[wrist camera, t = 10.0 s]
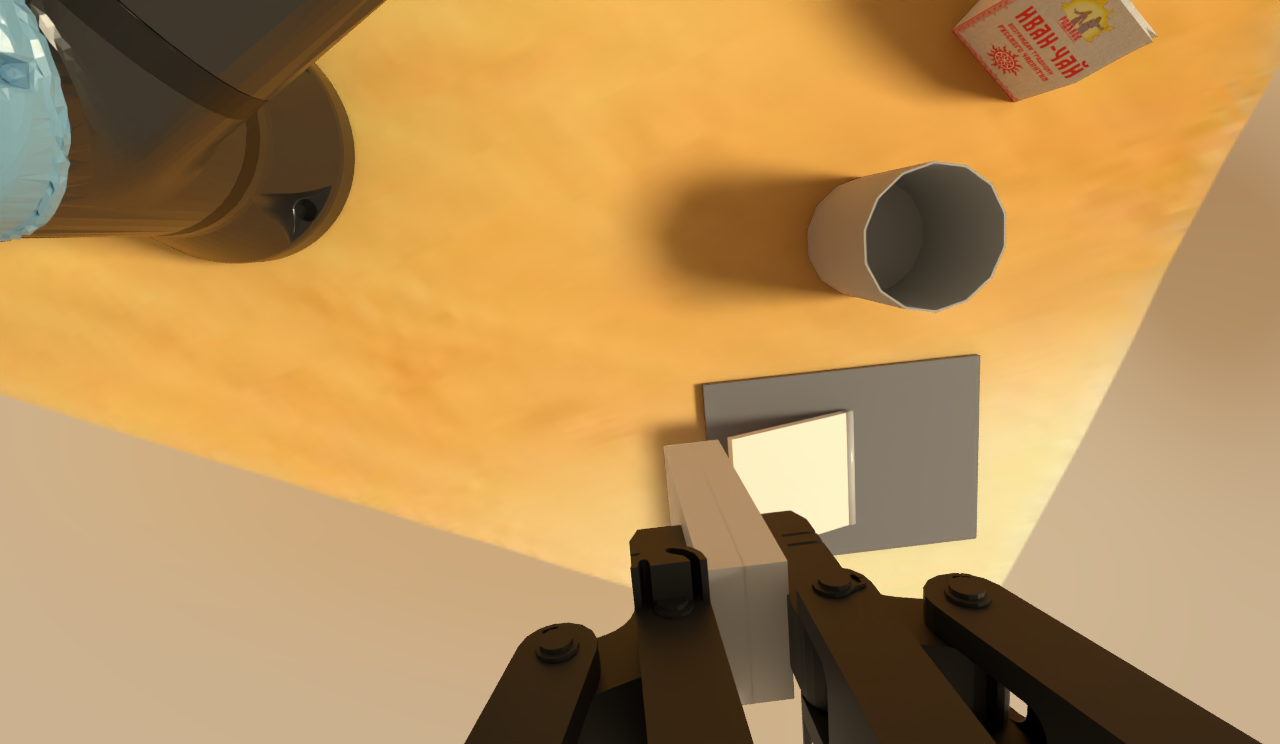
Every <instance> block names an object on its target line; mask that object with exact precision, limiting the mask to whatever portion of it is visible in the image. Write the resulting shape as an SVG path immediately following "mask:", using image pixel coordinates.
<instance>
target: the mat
mask: <svg viewBox="0 0 1280 744" xmlns="http://www.w3.org/2000/svg"><path fill="white" fill-rule="evenodd" d="M702 388H703V401H704V414H705V427H706V440H707V441H709V440H719V442H720V444H721V446H722V447H723V449H724V451H725V453H726V454H727V456H728V458H729V453H728V438H727V437H732V436H736V435H740V434H745V433H749V432H753V431H757V430H762V429H766V428H770V427H775V426H779V425H783V424H788V423H792V422H796V421H800V420H805V419H809V418H813V417H818V416H822V415H826V414H831V413H835V412H839V411H841V410H845V409H849V410H853V418H854V461H855V503H856V524H854V525H847V526H844V527H841V528H837V529H834V530H831V531H828V532H825V533H821V534H818V535H819V537H820V538H821V539H822V543H823V542H824V544H825V545H826V546H827V548H828V549H829V550H830V552H831V553H832V555H841V554H849V553H858V552H866V551H875V550H883V549H891V548H900V547H908V546H916V545H925V544H933V543H941V542H950V541H958V540H966V539H975V538H976V531H977V484H978V437H979V390H980V355H977V354H974V355H965V356H956V357H946V358H937V359H928V360H919V361H909V362H900V363H891V364H882V365H873V366H863V367H854V368H845V369H836V370H826V371H817V372H808V373H799V374H789V375H780V376H771V377H762V378H752V379H743V380H734V381H725V382H715V383H706V384H702Z"/></svg>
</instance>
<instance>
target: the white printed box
mask: <svg viewBox="0 0 1280 744" xmlns="http://www.w3.org/2000/svg"><path fill="white" fill-rule="evenodd" d="M952 31H953V32H954V33H955V34H956V35H957V37H958V38H959V39H960V40H961V41H962V42H963V44H964V45H965V46H966V47H967V48H968V49H969V51H970V52H971V53H972V54H973V55H974V56H975V58H976V59H977V60H978V61H979V62H980V63H981V65H982V66H983V67H984V68H985V69H986V70H987V72H988V73H989V74H990V75H991V76H992V77H993V79H994V80H995V81H996V82H997V83H998V84H999V86H1000V87H1001V88H1002V89H1003V90H1004V91H1005V93H1006V94H1007V95H1008V96H1009V97H1010V98H1011V100H1012V101H1013V102H1017V101H1020V100H1023V99H1026V98H1029V97H1033V96H1036V95H1039V94H1042V93H1045V92H1048V91H1051V90H1054V89H1058V88H1061V87H1064V86H1067V85H1070V84H1073V83H1076V82H1078V81H1080V80H1081V79H1083V78H1085V77H1087V76H1089V75H1090V74H1092V73H1094V72H1096V71H1098V70H1099V69H1101V68H1103V67H1105V66H1107V65H1108V64H1110V63H1112V62H1114V61H1116V60H1117V59H1119V58H1121V57H1123V56H1125V55H1127V54H1129V53H1131V52H1133V51H1135V50H1137V49H1139V48H1141V47H1143V46H1145V45H1147V44H1149V43H1152V42H1153V41H1152V39H1151V38H1154V37H1158V36H1157V35H1156V33H1155V32H1154V31H1153V30H1152V28H1151V27H1150V26H1149V24H1148V23H1147V22H1146V21H1145V19H1144V18H1143V17H1142V15H1141V14H1140V13H1139V12H1138V10H1137V9H1136V8H1135V7H1134V5H1133V4H1132V3H1131V1H1130V0H979V1H978V2H977V3H976V4H975V5H974V6H973V7H972V8H971V10H970V11H969V12H968V13H967V14H966V15H965V16H964V17H963V18H962V19H961V20H960V21H959V23H958V24H957V25H956V26H955V27H954V28H953V29H952Z"/></svg>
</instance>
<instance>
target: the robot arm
mask: <svg viewBox="0 0 1280 744" xmlns="http://www.w3.org/2000/svg"><path fill="white" fill-rule="evenodd" d="M385 1H386V0H0V242H4V241H11V240H12V239H20V238H59V237H112V236H149V237H151V238H153V239H155V240H157V241H159V242H161V243H164V244H166V245H168V246H170V247H172V248H174V249H176V250H178V251H181V252H183V253H185V254H188V255H191V256H194V257H197V258H201V259H205V260H210V261H216V262H222V263H252V262H264V261H271V260H276V259H280V258H283V257H287V256H289V255H292V254H294V253H297V252H299V251H301V250H303V249H304V248H306V247H308V246H309V245H311V244H312V243H314V242H315V241H316V240H317V239H319V238H320V237H321V236H322V235H323V234H324V233H325V232H326V231H327V230H328V229H329V228H330V227H331V225H332V224H333V223H334V222H335V220H336V219H337V217H338V216H339V214H340V212H341V211H342V209H343V207H344V205H345V203H346V200H347V198H348V195H349V192H350V189H351V185H352V180H353V174H354V164H355V151H354V141H353V135H352V130H351V126H350V122H349V119H348V116H347V113H346V111H345V108H344V106H343V104H342V101H341V99H340V97H339V96H338V94H337V92H336V90H335V89H334V87H333V85H332V84H331V82H330V81H329V80H328V78H327V77H326V75H325V74H324V73H323V72H322V71H321V69H320V68H319V67H318V66H317V65H316V64H315V63H314V62H315V61H316V60H318V59H319V58H320V57H321V56H322V55H323V54H325V53H326V52H327V51H328V50H329V49H330V48H332V47H333V46H334V45H335V44H336V43H337V42H339V41H340V40H341V39H342V38H343V37H344V36H345V35H347V34H348V33H349V32H350V31H351V30H352V29H354V28H355V27H356V26H357V25H358V24H359V23H361V22H362V21H363V20H364V19H365V18H366V17H368V16H369V15H370V14H371V13H372V12H373V11H375V10H376V9H377V8H378V7H379V6H380V5H382V4H383V3H384V2H385ZM663 447H664V457H665V468H666V479H667V490H668V501H669V511H670V522H671V526H666V527H658V528H649V529H641V530H637V531H636V533H635V534H634V536H633V537H632V539H631V540H630V542H629V544H630V555H631V568H630V569H631V578H632V587H633V595H634V605H635V611H634V613H633V615H632V617H631V619H629V621H628V622H627V623H626V624H625V625H623V626H622V627H620V628H619V629H617V630H616V631H614V632H611V633H609V634H607V635H604V636H602V637H599V638H596V636H595V634H594V633H593V631H592V630H590V629H588V628H587V627H585V626H583V625H580V624H573V623H561V624H553V625H550V626H546V627H544V628H541V629H539V630H537V631H535V632H534V633H532V634H530V635H529V636H527V637H526V638H525V639H524V641H523V642H522V643H521V644H520V645H519V646H518V648H517V650H516V652H515V654H514V655H513V657H512V659H511V661H510V663H509V664H508V666H507V668H506V670H505V672H504V673H503V676H502V677H501V679H500V681H499V682H498V684H497V686H496V688H495V690H494V692H493V693H492V695H491V697H490V699H489V700H488V702H487V704H486V706H485V708H484V709H483V711H482V713H481V715H480V717H479V718H478V720H477V722H476V724H475V726H474V728H473V729H472V731H471V733H470V735H469V736H468V738H467V740H466V742H465V743H464V744H753V740H752V737H751V734H750V730H749V727H748V724H747V721H746V717H745V714H744V711H743V707H742V705H747V704H754V703H762V702H770V701H778V700H785V699H793V698H794V682H793V673H794V676H795V678H796V680H797V682H798V684H799V687H800V689H801V700H802V701H801V702H802V721H803V722H802V723H803V743H804V744H812V742H813V744H1262V743H1260V742H1258V741H1257V740H1255V739H1253V738H1252V737H1250V736H1249V735H1247V734H1245V733H1244V732H1242V731H1240V730H1239V729H1237V728H1235V727H1233V726H1232V725H1230V724H1229V723H1227V722H1225V721H1224V720H1222V719H1220V718H1219V717H1217V716H1215V715H1214V714H1212V713H1210V712H1208V711H1207V710H1205V709H1204V708H1202V707H1200V706H1199V705H1197V704H1195V703H1194V702H1192V701H1190V700H1189V699H1187V698H1185V697H1184V696H1182V695H1180V694H1179V693H1177V692H1175V691H1174V690H1172V689H1171V688H1169V687H1167V686H1165V685H1164V684H1162V683H1161V682H1159V681H1157V680H1156V679H1154V678H1152V677H1151V676H1149V675H1147V674H1146V673H1144V672H1142V671H1141V670H1139V669H1137V668H1136V667H1134V666H1132V665H1131V664H1129V663H1127V662H1126V661H1124V660H1122V659H1121V658H1119V657H1117V656H1116V655H1114V654H1112V653H1111V652H1109V651H1107V650H1106V649H1104V648H1102V647H1101V646H1099V645H1097V644H1096V643H1094V642H1093V641H1091V640H1089V639H1088V638H1086V637H1084V636H1083V635H1081V634H1079V633H1078V632H1076V631H1074V630H1073V629H1071V628H1069V627H1068V626H1066V625H1064V624H1063V623H1061V622H1059V621H1058V620H1056V619H1054V618H1053V617H1051V616H1049V615H1048V614H1046V613H1044V612H1043V611H1041V610H1039V609H1037V608H1036V607H1034V606H1033V605H1031V604H1029V603H1028V602H1026V601H1024V600H1023V599H1021V598H1019V597H1018V596H1016V595H1015V594H1013V593H1011V592H1009V591H1008V590H1006V589H1005V588H1003V587H1001V586H1000V585H998V584H995V583H993V582H991V581H989V580H987V579H984V578H980V577H976V576H972V575H970V574H963V573H961V574H959V573H951V574H945V575H938V576H936V577H934V578H932V579H930V580H928V581H927V582H926V584H925V586H924V587H923V599H916V598H903V597H893V596H885V595H881V594H880V592H879V591H878V590H877V589H876V587H875V586H874V585H873V583H872V582H871V581H870V580H868V579H867V578H866V577H865V576H864V575H862V574H860V573H857V572H855V571H853V570H850V569H845V568H842V567H841V566H840V564H839V563H838V562H837V560H836V559H835V557H834V556H833V555H832V553H831V552H830V550H829V549H828V548H827V546H826V545H825V544H824V542H823V543H822V539H821V538H820V537H819V535H818V534H817V533H815V530H814V528H813V527H812V526H811V524H810V523H809V521H808V520H807V519H806V518H804V517H802V516H800V515H798V514H797V513H795V512H793V511H791V510H789V511H780V512H772V513H763V514H760V512H759V510H758V509H757V507H756V505H755V503H754V502H753V500H752V498H751V496H750V495H749V493H748V491H747V489H746V488H745V486H744V484H743V482H742V481H741V479H740V477H739V475H738V474H737V472H736V470H735V468H734V467H733V465H732V463H731V461H730V460H729V458H728V456H727V454H726V453H725V451H724V449H723V447H722V446H721V444H720V442H719V440H709V441H700V442H691V443H682V444H673V445H664V446H663ZM1010 691H1011V692H1012V693H1013V694H1015V695H1016V696H1017V697H1018V698H1020V699H1021V700H1022V701H1024V702H1025V703H1026V704H1027V705H1028V708H1027V717H1026V718H1025V717H1024V716H1022V715H1020V714H1018V713H1017V712H1016V711H1015V710H1014V709H1012V708H1011V707H1010V706H1009V702H1010Z"/></svg>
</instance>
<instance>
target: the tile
mask: <svg viewBox="0 0 1280 744" xmlns="http://www.w3.org/2000/svg"><path fill="white" fill-rule="evenodd" d="M727 438H728V453H729V460H730V461H731V463H732V465H733V467H734V468H735V470H736V472H737V474H738V475H739V477H740V479H741V481H742V482H743V484H744V486H745V488H746V489H747V491H748V493H749V495H750V496H751V498H752V500H753V502H754V503H755V505H756V507H757V509H758V510H759V512H760V514H763V513H772V512H780V511H789V510H791V511H793V512H795V513H797V514H798V515H800V516H802V517H804V518H806V519H807V520H808V521H809V523H810V524H811V526H812V527H813V528H814V530H815V533H817V534H821V533H825V532H828V531H831V530H834V529H837V528H841V527H844V526H847V525H854V524H856V503H855V461H854V418H853V410H849V409H845V410H841V411H839V412H835V413H831V414H826V415H822V416H818V417H813V418H809V419H805V420H800V421H796V422H792V423H788V424H783V425H779V426H775V427H770V428H766V429H762V430H757V431H753V432H749V433H745V434H740V435H736V436H732V437H727Z"/></svg>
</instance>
